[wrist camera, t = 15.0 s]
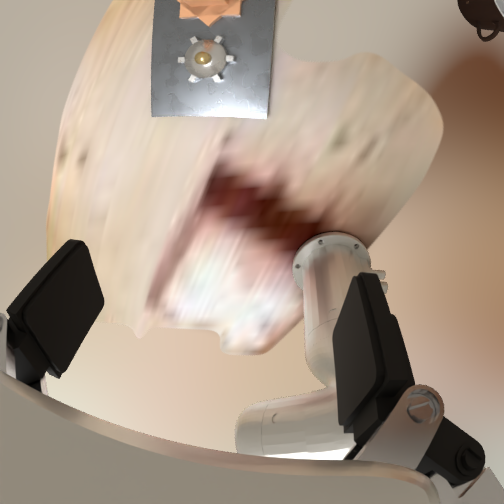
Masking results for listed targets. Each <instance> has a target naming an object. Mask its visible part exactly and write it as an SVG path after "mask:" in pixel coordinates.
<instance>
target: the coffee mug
mask: <svg viewBox="0 0 504 504" xmlns="http://www.w3.org/2000/svg"><path fill="white" fill-rule="evenodd" d="M458 6H459V9H460V11H461V13H462V15H463V16H464V18H465V19H466V20H467V21H468V22H469V23H470V24H471V25H473V26H474V27H476V28H477V34H478V36H479V38H480V39H481V40H482V41H485V42H486V41H490V40H492V39H493V38H495V37H496V35H497V34H498V33H499V31H501V32H504V0H458ZM481 29H485V30H493V31H494V32H493V33H492V34H491V35H489V36H487V37H482V35H481Z"/></svg>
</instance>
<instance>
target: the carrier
mask: <svg viewBox="0 0 504 504" xmlns="http://www.w3.org/2000/svg"><path fill="white" fill-rule="evenodd" d="M180 4H181V3H180V2H178V1H177V0H155V6H154V19H153V35H152V61H151V112H152V117H166V116H221V117H244V118H259V119H267V117H268V103H269V89H270V76H271V62H272V47H273V33H274V19H275V4H276V0H243V1H242V5H241V16H223V17H222V18H220V19H219V20H218V21H217V22H216V23H214V24H213V25H212V26H211V27H209V26H207V25H206V24H205V23H204V22H203V21H201V20H200V19H199V18H187V19H181V18H179V16H180Z"/></svg>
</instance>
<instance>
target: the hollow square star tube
mask: <svg viewBox="0 0 504 504" xmlns="http://www.w3.org/2000/svg"><path fill="white" fill-rule="evenodd" d="M177 1H178V2H180V3H181V4H180V16H179V18H181V19H187V18H199V19H200V20H201V21H203V22H204V23H205V24H206V25H207V26H209V27H211V26H212V25H213V24H214V23H216V22H217V21H218V20H219V19H220V18H222V17H223V16H241V5H242V1H243V0H177Z"/></svg>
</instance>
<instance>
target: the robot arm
mask: <svg viewBox="0 0 504 504" xmlns="http://www.w3.org/2000/svg"><path fill="white" fill-rule="evenodd" d="M292 265H293V266H292V271H293V277H294V280H295V282H296V284H297V285H298V287H299V288H300V289H301V290H302V291H303V300H304V335H305V358H306V362H307V365H308V367H309V369H310V371H311V372H312V373H313V375H314V376H315V377H316V378H317V379H318V380H319V381H320V382H321V383H323V384H324V385H325V386H326V388H324V389H321V390H317V391H313V392H311V393H306V394H300V395H295V396H289V397H283V398H277V399H272V400H266V401H262V402H258V403H254V404H252V405H250V406H248V407H247V408H245V409H244V410H243V411H242V413H241V414H240V416H239V417H238V420H237V423H236V428H235V444H236V450H237V453H231V452H224V451H218V450H212V449H207V448H201V447H196V446H192V445H187V444H182V443H177V442H174V441H170V440H166V439H161V438H158V437H154V436H151V435H147V434H144V433H140V432H137V431H134V430H130V429H127V428H124V427H122V426H118V425H116V424H113V423H110V422H107V421H105V420H102V419H99V418H97V417H94V416H92V415H89V414H87V413H84V412H82V411H80V410H77V409H75V408H73V407H70V406H68V405H66V404H64V403H61V402H59V401H57V400H55V399H53V398H51V397H49V396H48V391H47V385H46V379H45V373H46V371H47V372H48V373H49V374H50V375H52V376H54V377H56V378H58V379H60V377H61V375H62V373H64V372H65V371H66V370H67V368H68V367H69V365H70V363H71V361H72V359H73V358H74V356H75V354H76V352H77V350H78V349H79V347H80V345H81V343H82V342H83V340H84V338H85V336H86V335H87V333H88V331H89V330H90V328H91V326H92V325H93V323H94V321H95V320H96V318H97V316H98V315H99V313H100V312H101V310H102V308H103V306H104V297H103V294H102V291H101V288H100V285H99V282H98V279H97V276H96V273H95V270H94V266H93V263H92V260H91V256H90V253H89V249H88V247H87V246H86V245H85V243H84V242H83V241H81V240H73V239H70V240H68V241H67V242H66V243H65V244H64V245H63V246H62V247H61V248H60V249H59V250H58V251H57V252H56V253H55V254H54V255H53V256H52V257H51V258H50V259H49V260H48V262H47V263H46V264H45V265H44V266H43V267H42V268H41V269H40V270H39V271H38V273H37V274H36V275H35V276H34V277H33V278H32V279H31V280H30V282H29V283H28V284H27V285H26V286H25V287H24V289H23V290H22V291H21V292H20V293H19V295H18V296H17V297H16V298H15V300H14V301H13V302H12V303H11V305H10V306H9V307H8V309H7V310H6V311H7V313H8V314H9V316H10V318H9V320H8V319H7V318H6V316H5V315H4V314H2V313H0V504H504V489H503V487H502V486H501V484H500V483H499V481H498V480H497V478H496V477H495V475H494V473H493V472H492V471H491V469H490V468H489V467H487V468H485V467H484V464H485V453H484V450H483V448H482V446H481V445H480V443H479V442H478V441H476V440H475V439H474V438H472V437H471V436H469V435H468V434H467V433H465V432H464V431H463V430H461V429H460V428H459V427H457V426H456V425H455V424H453V423H452V422H451V421H449V420H448V419H447V418H445V417H444V416H443V415H444V403H443V400H442V398H441V396H440V395H439V393H438V392H437V391H435V390H434V389H433V388H431V387H429V386H427V385H421V384H419V385H415V381H414V377H413V373H412V369H411V366H410V362H409V358H408V355H407V351H406V348H405V344H404V341H403V337H402V334H401V331H400V328H399V324H398V321H397V319H396V317H395V316H394V315H393V314H391V313H390V310H389V307H388V303H387V301H386V297H385V295H384V294H386V292H387V289H388V284H387V282H380V280H379V279H384V278H385V271H382V270H372V268H370V267H371V260H370V256H369V253H368V251H367V249H366V247H365V246H364V244H363V243H362V242H361V241H360V240H359V239H357V238H355V237H354V236H352V235H349V234H346V233H341V232H328V233H323V234H320V235H317V236H315V237H313V238H311V239H309V240H308V241H306V242H305V243H304V244H303V245H302V246H301V247H300V248H299V250H298V251H297V252H296V254H295V257H294V260H293V264H292Z"/></svg>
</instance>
